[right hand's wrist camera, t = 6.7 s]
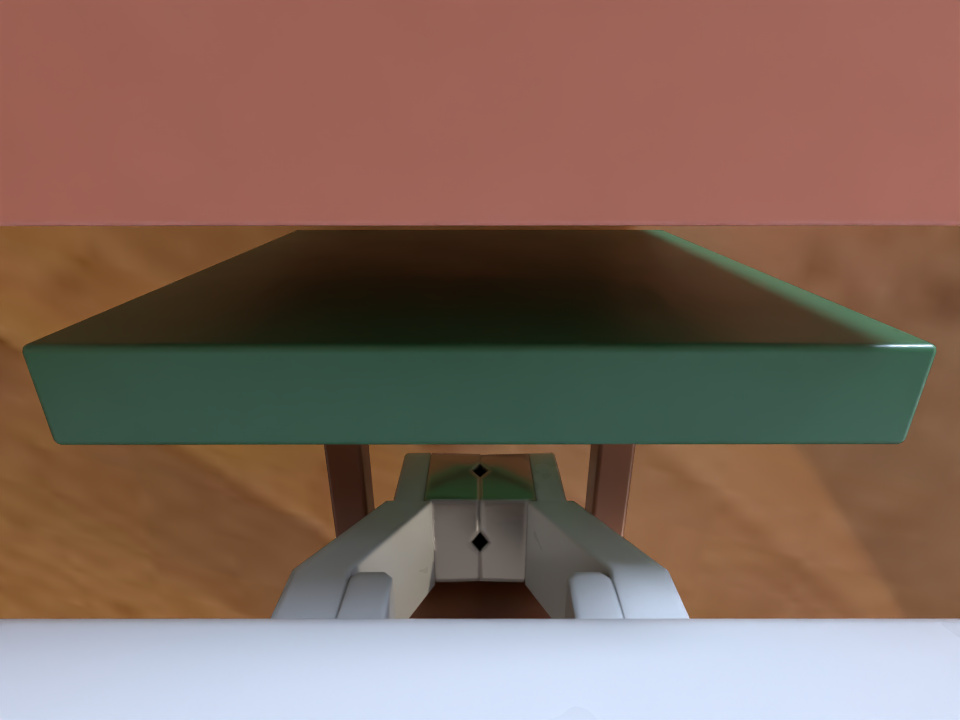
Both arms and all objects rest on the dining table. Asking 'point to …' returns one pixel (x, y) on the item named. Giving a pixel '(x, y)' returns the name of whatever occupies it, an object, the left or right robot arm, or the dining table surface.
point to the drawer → (479, 360)
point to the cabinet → (479, 112)
